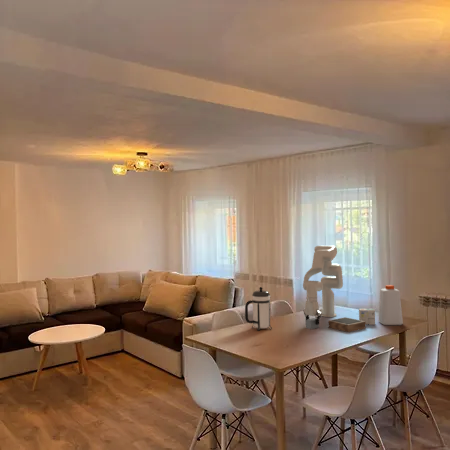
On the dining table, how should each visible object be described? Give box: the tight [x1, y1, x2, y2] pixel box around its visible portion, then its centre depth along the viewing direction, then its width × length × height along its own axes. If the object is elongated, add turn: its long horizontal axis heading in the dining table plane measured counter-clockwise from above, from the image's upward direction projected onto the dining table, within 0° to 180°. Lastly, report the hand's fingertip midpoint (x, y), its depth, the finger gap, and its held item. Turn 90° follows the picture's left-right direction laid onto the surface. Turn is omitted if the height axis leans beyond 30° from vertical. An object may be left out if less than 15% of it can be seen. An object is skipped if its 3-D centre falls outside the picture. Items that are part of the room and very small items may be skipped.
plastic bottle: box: [378, 284, 404, 326], centre depth 328 cm, size 15×15×28 cm
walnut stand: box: [328, 316, 366, 333], centre depth 317 cm, size 18×18×5 cm
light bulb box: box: [358, 308, 376, 326], centre depth 329 cm, size 11×7×11 cm, turn 84°
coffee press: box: [244, 287, 273, 332], centre depth 318 cm, size 17×16×30 cm
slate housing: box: [305, 317, 320, 330], centre depth 320 cm, size 5×9×6 cm, turn 124°
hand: (312, 323), depth 320 cm, fingers open, 9 cm apart
